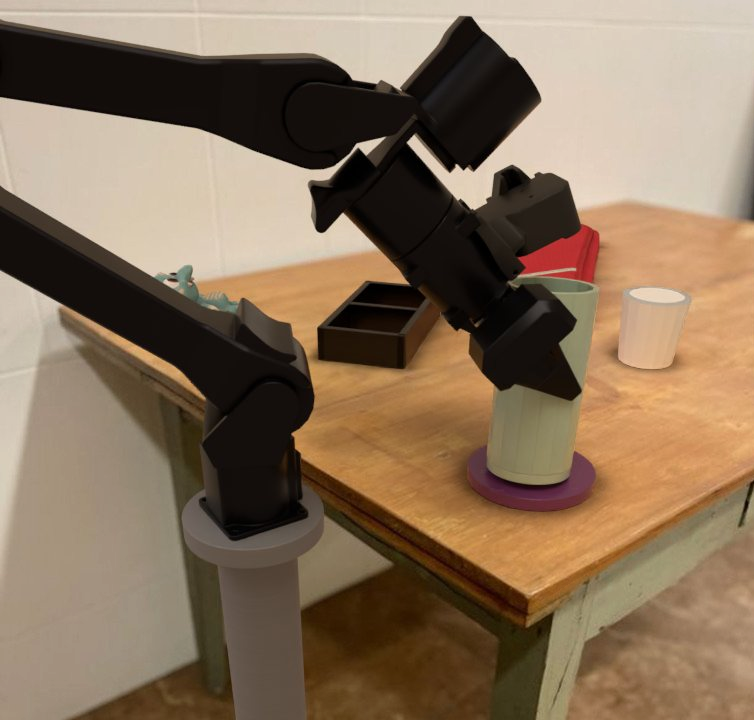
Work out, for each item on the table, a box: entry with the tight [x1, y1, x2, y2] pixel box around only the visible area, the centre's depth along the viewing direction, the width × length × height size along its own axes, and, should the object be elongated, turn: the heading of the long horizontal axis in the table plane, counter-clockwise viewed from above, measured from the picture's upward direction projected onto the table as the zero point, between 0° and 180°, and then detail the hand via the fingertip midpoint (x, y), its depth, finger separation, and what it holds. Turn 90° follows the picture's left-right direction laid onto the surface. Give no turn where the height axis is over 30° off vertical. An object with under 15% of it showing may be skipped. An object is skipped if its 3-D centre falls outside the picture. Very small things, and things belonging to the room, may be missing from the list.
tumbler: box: [486, 276, 601, 485], centre depth 60 cm, size 6×6×14 cm
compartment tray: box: [316, 280, 441, 370], centre depth 91 cm, size 18×9×4 cm, turn 164°
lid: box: [466, 444, 597, 512], centre depth 64 cm, size 10×10×1 cm
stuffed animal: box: [153, 264, 240, 314], centre depth 94 cm, size 11×7×12 cm
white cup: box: [617, 285, 693, 370], centre depth 85 cm, size 7×7×7 cm
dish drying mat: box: [517, 223, 601, 284], centre depth 114 cm, size 16×41×4 cm, turn 165°
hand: (559, 377), depth 60 cm, fingers closed on tumbler, 7 cm apart
